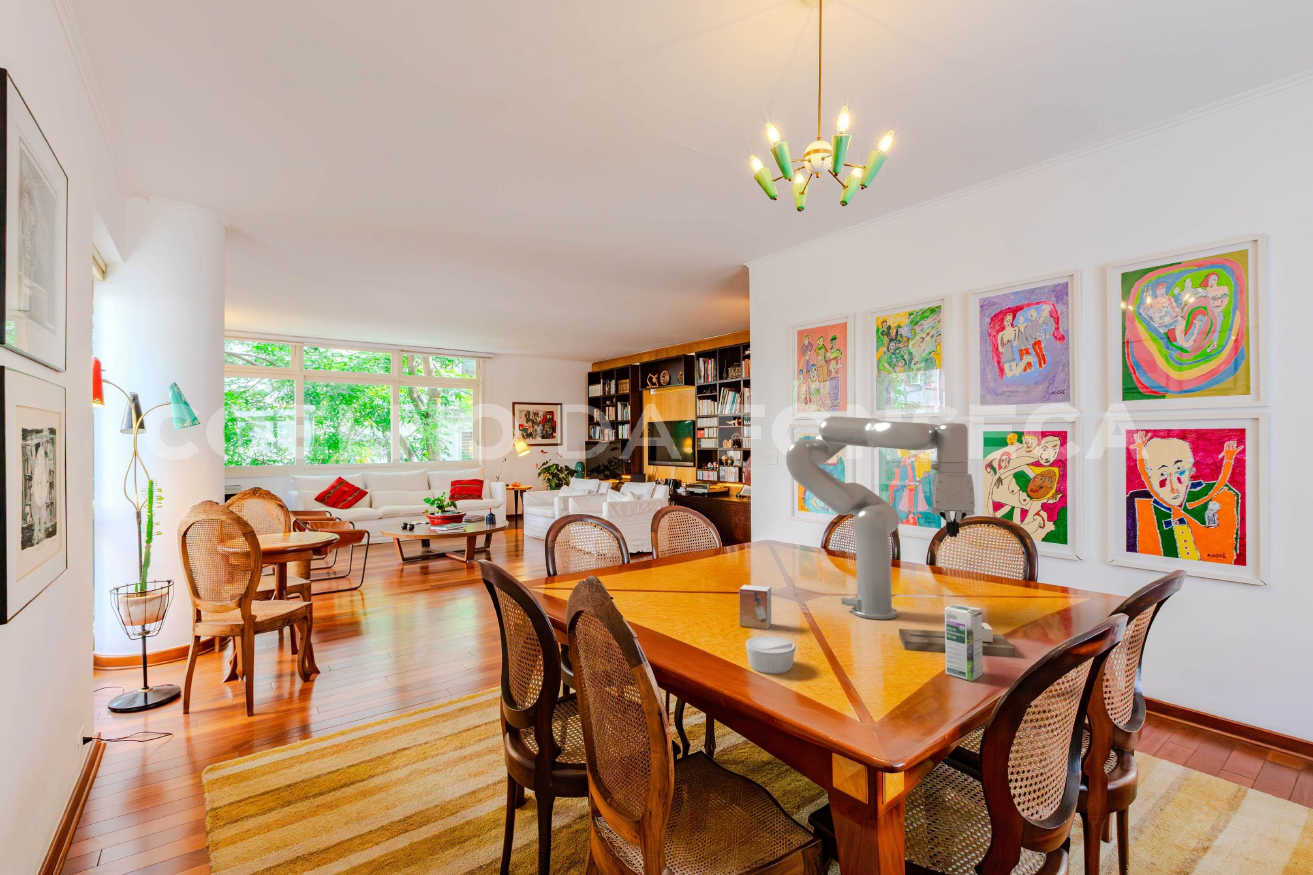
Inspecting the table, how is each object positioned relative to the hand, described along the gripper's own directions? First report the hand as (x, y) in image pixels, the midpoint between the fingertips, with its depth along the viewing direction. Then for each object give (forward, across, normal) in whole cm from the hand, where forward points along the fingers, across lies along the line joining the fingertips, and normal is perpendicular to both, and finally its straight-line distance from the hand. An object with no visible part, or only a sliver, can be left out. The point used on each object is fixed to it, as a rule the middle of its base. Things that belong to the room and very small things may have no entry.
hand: (952, 536), depth 163 cm
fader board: (+25, -3, -16) cm, 30 cm away
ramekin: (+25, -45, -41) cm, 66 cm away
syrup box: (+25, -4, -35) cm, 43 cm away
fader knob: (+22, +3, -16) cm, 28 cm away
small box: (+25, -52, -11) cm, 59 cm away
